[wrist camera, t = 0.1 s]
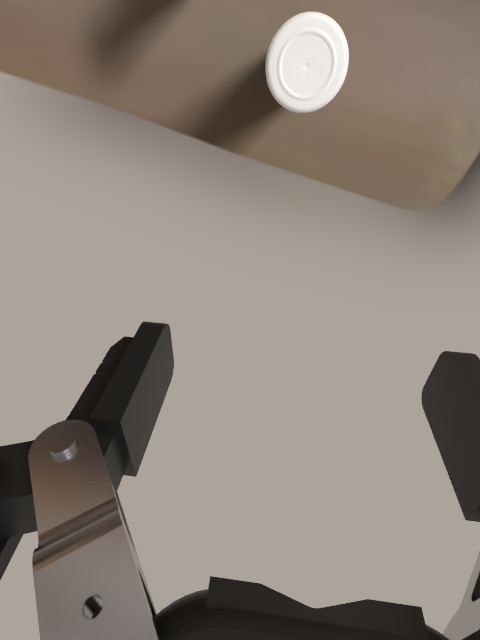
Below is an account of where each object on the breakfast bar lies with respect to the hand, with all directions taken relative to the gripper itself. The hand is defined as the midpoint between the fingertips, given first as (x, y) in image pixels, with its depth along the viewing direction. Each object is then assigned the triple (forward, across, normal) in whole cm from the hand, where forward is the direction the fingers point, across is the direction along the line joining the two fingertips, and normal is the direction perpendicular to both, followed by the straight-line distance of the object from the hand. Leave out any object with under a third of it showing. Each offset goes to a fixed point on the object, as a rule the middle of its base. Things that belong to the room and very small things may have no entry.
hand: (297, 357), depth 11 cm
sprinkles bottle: (+29, 0, -7) cm, 30 cm away
